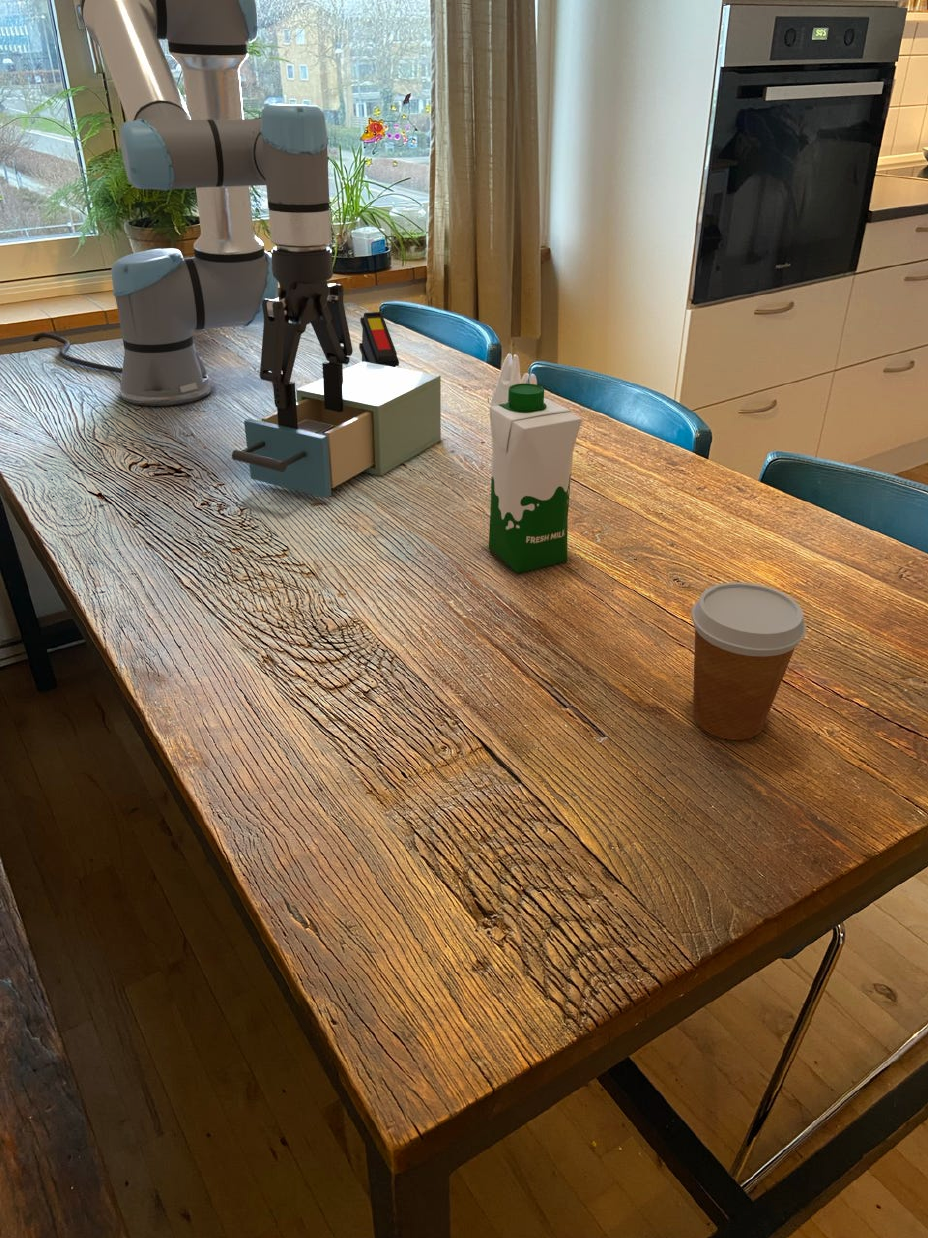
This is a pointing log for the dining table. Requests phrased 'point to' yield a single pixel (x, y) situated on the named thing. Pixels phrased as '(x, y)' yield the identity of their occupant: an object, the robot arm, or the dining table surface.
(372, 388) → the cabinet
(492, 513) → the milk carton
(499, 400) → the shaker set
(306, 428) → the cream box
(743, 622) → the disposable coffee cup
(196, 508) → the dining table surface
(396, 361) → the black switch panel
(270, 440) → the drawer
